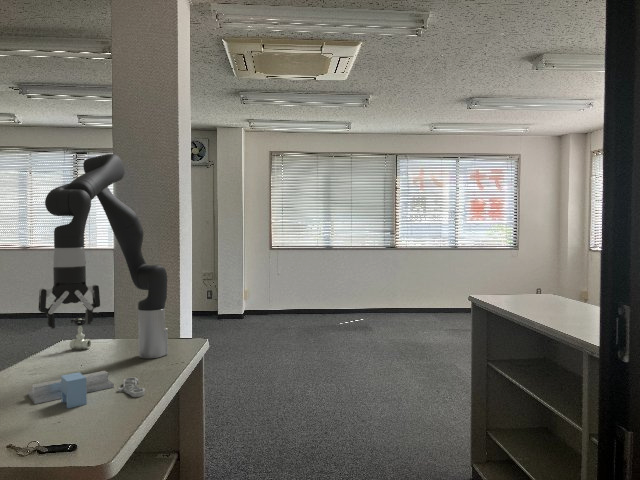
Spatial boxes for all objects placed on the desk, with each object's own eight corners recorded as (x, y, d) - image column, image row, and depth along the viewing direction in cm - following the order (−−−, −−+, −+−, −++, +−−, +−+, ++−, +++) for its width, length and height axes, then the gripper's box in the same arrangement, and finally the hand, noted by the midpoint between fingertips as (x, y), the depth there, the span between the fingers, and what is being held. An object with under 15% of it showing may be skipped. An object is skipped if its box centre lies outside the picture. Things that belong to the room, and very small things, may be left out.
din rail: (103, 379, 143) (103, 367, 143) (113, 387, 136) (113, 375, 136) (27, 394, 130) (27, 382, 130) (34, 404, 123) (34, 391, 123)
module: (79, 397, 127) (79, 372, 127) (86, 404, 122) (86, 377, 122) (61, 401, 124) (61, 375, 124) (67, 408, 119) (67, 381, 119)
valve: (84, 351, 178) (83, 320, 178) (67, 351, 178) (66, 320, 178) (93, 347, 184) (92, 317, 184) (76, 347, 184) (76, 317, 184)
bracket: (149, 375, 142) (143, 390, 127) (149, 381, 142) (143, 397, 127) (122, 377, 140) (114, 393, 126) (122, 384, 140) (114, 400, 126)
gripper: (94, 263, 130) (95, 320, 131) (35, 265, 121) (36, 327, 121) (102, 264, 125) (103, 324, 125) (41, 266, 115) (42, 332, 116)
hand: (70, 326), depth 123 cm, fingers open, 8 cm apart
